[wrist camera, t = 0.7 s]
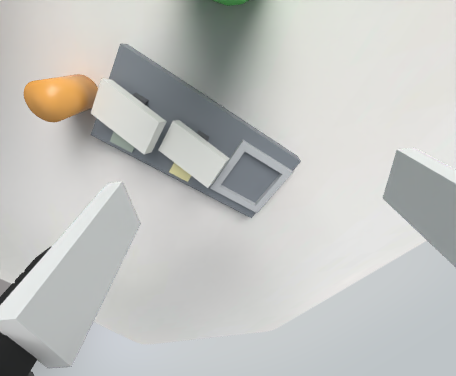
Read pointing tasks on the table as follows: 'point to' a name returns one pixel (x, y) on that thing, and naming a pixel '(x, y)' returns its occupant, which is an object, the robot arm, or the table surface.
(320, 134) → the table surface
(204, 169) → the breaker
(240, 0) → the bottle
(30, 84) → the pin
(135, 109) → the block
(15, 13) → the table surface
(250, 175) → the panel
